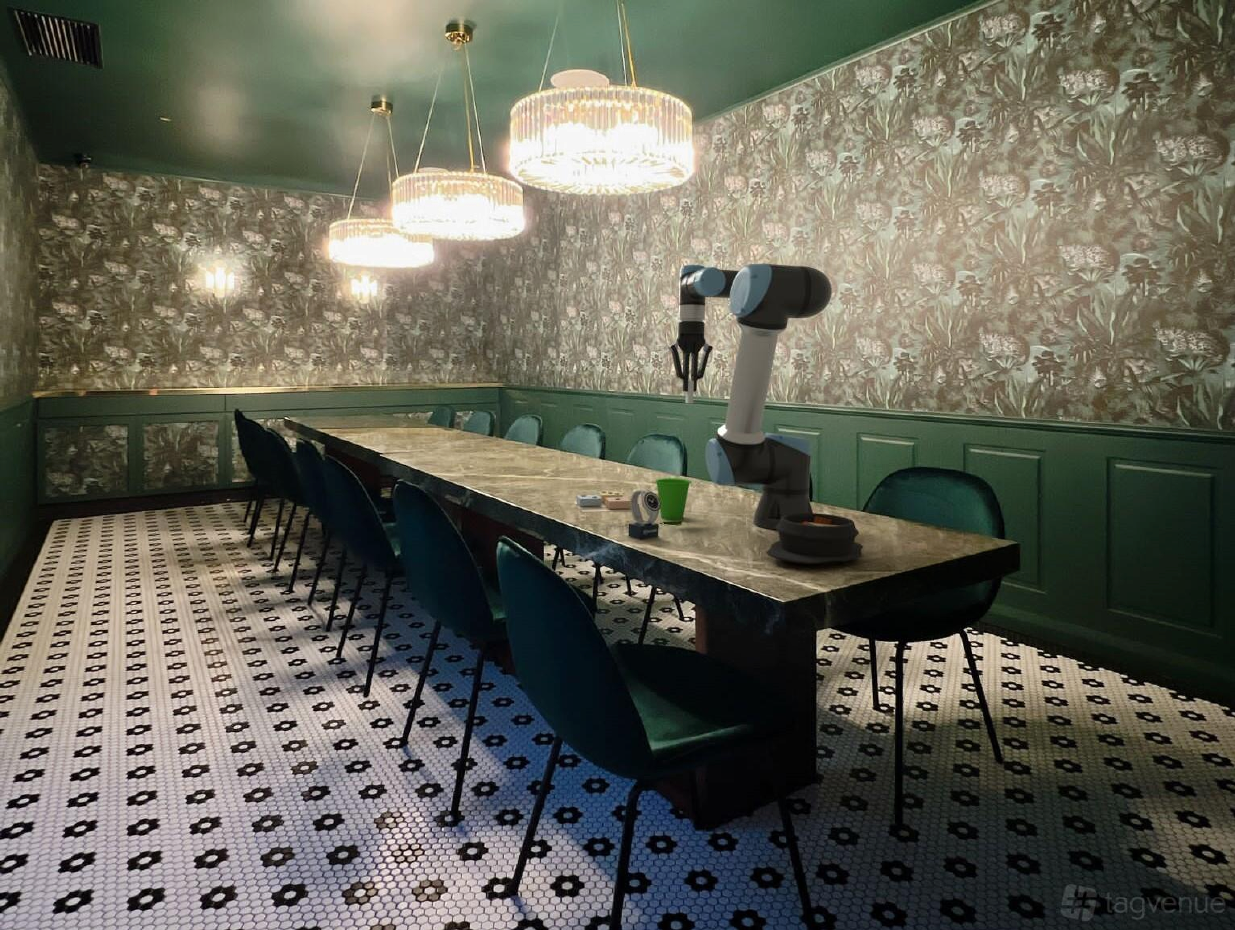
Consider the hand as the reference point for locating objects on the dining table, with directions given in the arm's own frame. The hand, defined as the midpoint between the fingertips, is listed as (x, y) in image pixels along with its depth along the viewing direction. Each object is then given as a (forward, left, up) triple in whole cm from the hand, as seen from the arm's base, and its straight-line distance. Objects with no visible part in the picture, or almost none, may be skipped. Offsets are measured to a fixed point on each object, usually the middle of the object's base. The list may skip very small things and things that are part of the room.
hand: (689, 403), depth 219 cm
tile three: (-4, +24, -28) cm, 37 cm away
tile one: (-14, +24, -28) cm, 39 cm away
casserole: (-68, -7, -30) cm, 75 cm away
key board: (-9, +27, -29) cm, 41 cm away
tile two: (-9, +31, -28) cm, 42 cm away
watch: (-43, +24, -30) cm, 57 cm away
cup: (-29, +13, -30) cm, 43 cm away
